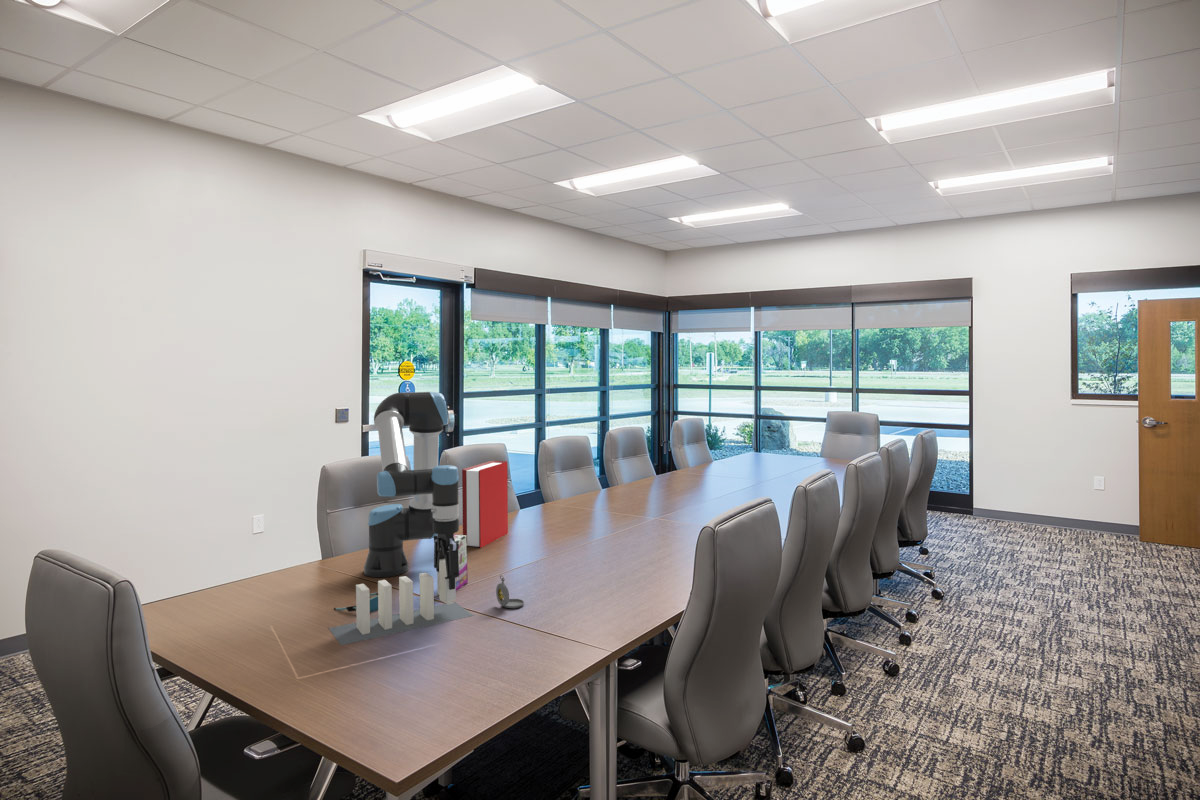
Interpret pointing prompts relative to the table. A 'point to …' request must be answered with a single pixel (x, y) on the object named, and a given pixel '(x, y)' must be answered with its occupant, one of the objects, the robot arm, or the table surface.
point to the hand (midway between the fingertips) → (446, 596)
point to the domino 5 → (443, 582)
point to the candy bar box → (462, 560)
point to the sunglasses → (372, 604)
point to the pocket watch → (506, 596)
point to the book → (485, 502)
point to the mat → (399, 624)
